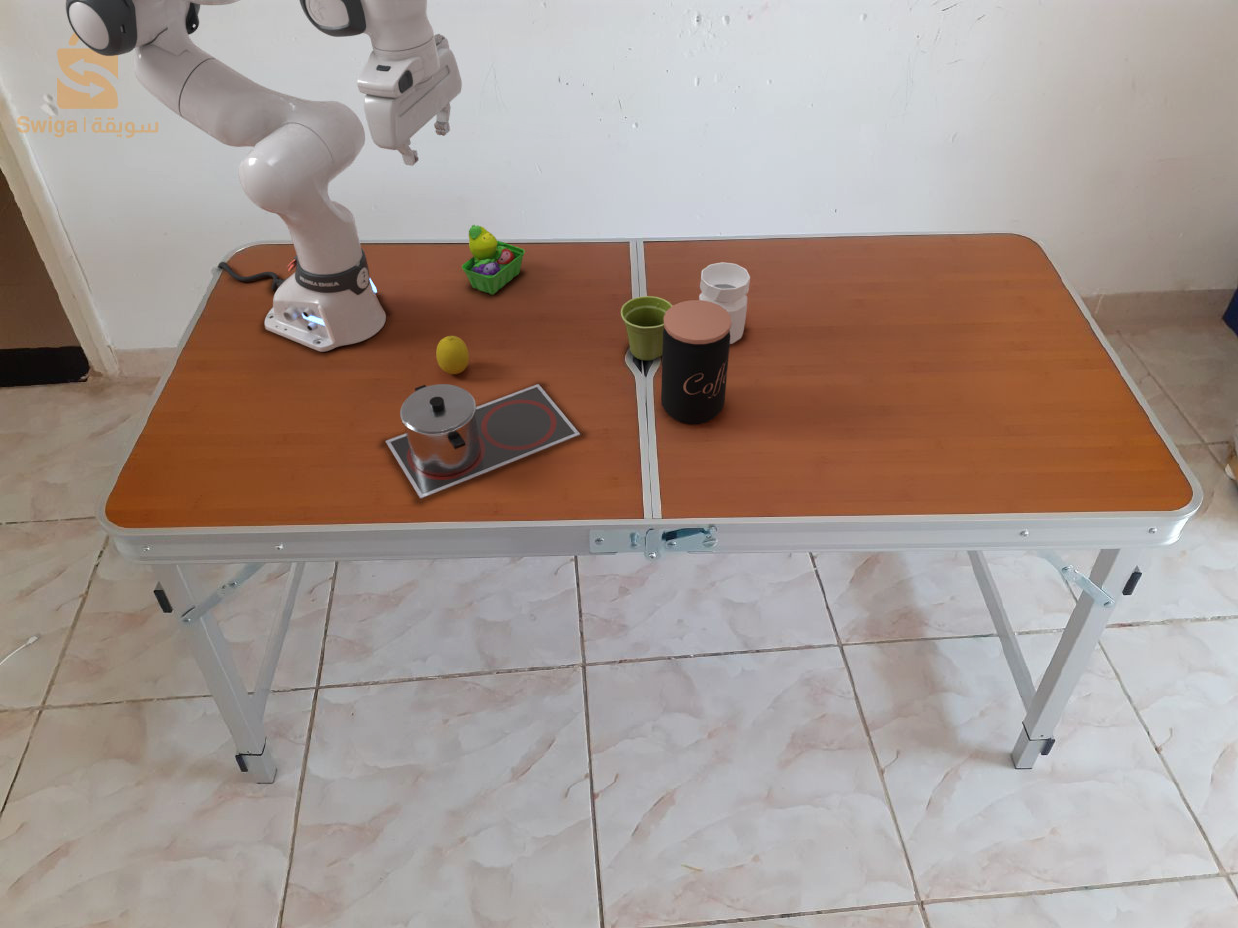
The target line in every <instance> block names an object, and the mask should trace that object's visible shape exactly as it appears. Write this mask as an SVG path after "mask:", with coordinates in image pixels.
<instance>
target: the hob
mask: <svg viewBox="0 0 1238 928" xmlns="http://www.w3.org/2000/svg"><path fill="white" fill-rule="evenodd" d="M475 416H476V422H477V429H478V435H479V442H480V454H479V457H478V459H477V460H476V461H475V463H474V464H473V465H472V466H470V467H469V468H467V469H466V470H464V471H462V472H459V473H456V474H453V475H447V476H436V475H431V474H427V473H425V472H423V471H421V470H420V469H418V468H417V467H416V466H415V464H414V463H413V460H412V457H411V452H410V448H409V443H408V439H407V434H406V433H404V434H400V435H398V436H395V437H392V438H389V439H387V440H385V443H386V445H387V447H388V448H389V450H390V452H391V453H392V455H393V456H394V458H395V459H396V461H397V463H398V464H399V466H400V468H401V470H402V472H403V473H404V474H405V476H406V478H407V479H408V481H409V482H410V484H411V486H412V487H413V490H415V492H416V495H417V496H418V497H419V499H420V500H422V499H425V498H426V497H429V496H432V495H434V494H437V493H439V492H441V491H444V490H446V489H449V488H451V487H454V486H456V485H459V484H462V483H464V482H467V481H469V480H471V479H474V478H477V477H479V476H481V475H483V474H487V473H489V472H491V471H494V470H496V469H499V468H502V467H504V466H507V465H509V464H511V463H514V462H516V461H518V460H521V459H523V458H526V457H529V456H531V455H533V454H536V453H539V452H541V451H544V450H546V449H549V448H551V447H553V446H556V445H558V444H559V445H560V444H561V443H564V442H566V441H569V440H571V439H573V438H576V437H579V436H581V432H579V431H578V429H576V427H575V425H573V423H572V422H571V421H570V419H568V418H567V417H566V415H565V414H564V413H563V412H562V410H561V409H560V408H559V407H558V405H557V404H556V403H555V402H554V401H553V399H552V398H551V397H550V396H549V394H547V392H546V391H545V390H544V389H543V387H542V386H541V385H540V384H539V383H537V384H534V385H532V386H531V385H530V386H529V387H526V388H523V389H521V390H519V391H516V392H513V393H510V394H508V395H505V396H502V397H499V398H497V399H493V400H491V401H489V402H486V403H483V404H481V405H478V406H476V413H475Z"/></svg>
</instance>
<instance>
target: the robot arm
mask: <svg viewBox="0 0 1238 928" xmlns="http://www.w3.org/2000/svg"><path fill="white" fill-rule="evenodd" d="M239 1H240V0H65V13H66V16H67V20H68V23H69V25H70V28H71V29H72V31H73V33H74V34H75V35H76V37H77V38H78V39H79V40H80V42H82V43H83V45H85V46H86V47H87V48H89V49H90V50H91V51H93V52H94V53H97V54H98V55H101V56H105V57H114V56H120V55H124V54H128V53H131V52H132V51H133V50H134V51H135V53H134V57H133V64H132V65H133V72H134V75H135V77H136V79H137V80H138V82H139V83H140V85H141V86H142V87H143V88H144V89H146V90H147V92H148V93H150V94H151V95H152V96H153V97H154V98H155V99H157V100H158V101H159V102H160V103H161V104H162V105H164V106H165V107H166V108H168V110H171V111H172V112H173V113H175V114H176V115H178V116H179V117H181V118H182V119H183V120H186V121H187V122H189V123H190V124H192V125H193V126H195V127H197V128H198V129H199V130H201V131H202V132H204V133H206V134H207V135H208V136H211V137H212V138H213V139H215V140H217V141H218V142H220V143H222V144H224V145H225V146H229V147H234V148H247V147H251V148H252V149H250V151H249V152H248V153H247V154H246V155H245V157H244V159H243V160H242V161H241V162H240V164H239V166H238V178H239V184H240V187H241V188H242V190H243V192H244V195H246V197H247V198H248V199H249V200H250V201H251V203H253V204H254V205H255V206H257V207H259V208H260V209H262V210H264V211H266V212H268V213H271V214H275V215H277V216H278V217H279V218H280V219H281V220H282V221H283V222H284V225H285V226H286V228H287V230H288V232H289V235H290V238H291V241H292V244H293V247H294V250H295V253H296V255H295V256H294V257H293V260H292V261H291V262H289V264H288V265H287V266H286V267H287V268H288V272H292V271H293V270H294V268H295V272H293V274H291V275H290V276H287V277H286V278H284V279H281V278H279V276H278V275H277V274H276V273H275V272H274V271H263V272H259V273H256V274H253V275H249V276H242V275H239V274H237V273H235V271H234V270H233V269H232V268H231V267H230V266H229V264H228V263H226V262H225V261H221V262H219V263H218V265H217V268H218V269H224V270H225V271H226V273H227V274H228V275H229V276H230V277H231V278H233V279H234V280H236V281H238V282H241V283H242V282H243V283H247V282H254V281H257V280H260V279H263V278H272V282H271V283H272V284H271V290H272V291H273V292H274V291H275V293H274V295H273V298H272V307H271V309H270V310H269V311H268V313H267V314H266V316H265V318H264V328H265V330H266V331H269V332H271V333H273V334H275V335H278V336H281V337H283V338H285V339H288V340H290V341H292V342H295V343H298V344H300V345H303V346H304V347H308V348H310V349H312V350H315V351H317V352H320V353H325V352H328V351H331V350H333V349H335V348H339V347H343V346H349V345H354V344H357V343H361V342H364V341H366V340H369V339H370V338H372V337H373V336H375V335H376V334H378V333H379V332H380V330H381V329H383V327H384V326H385V323H386V321H387V314H386V312H385V310H384V308H383V306H382V305H381V303H380V301H379V299H378V296H377V294H376V293H378V291H377V287H376V286H375V284H374V283H373V281H372V279H371V277H370V269H369V264H368V260H367V256H366V252H365V250H364V249H363V248H362V246H361V242H360V241H361V240H360V236H359V232H358V227H357V224H356V219H355V216H354V214H353V212H352V211H351V210H350V209H349V208H348V207H347V206H345V205H344V204H342V203H340V202H338V201H335V200H331V198H330V195H329V184H330V183H331V182H332V181H333V180H334V179H335V178H337V177H338V176H339V175H340V174H342V173H343V172H345V170H346V169H348V168H349V167H350V166H352V164H353V163H354V161H355V160H356V159H357V157H358V156H359V154H360V153H361V151H362V150H363V148H364V146H365V144H366V131H365V128H364V125H363V123H362V121H361V120H360V118H359V116H358V115H357V113H355V111H354V110H352V108H350V107H349V106H348V105H346V104H345V103H342V102H339V101H337V100H325V101H324V100H322V101H321V100H310V99H305V98H301V97H298V96H297V97H296V96H293V95H289V94H285V93H282V92H279V91H276V90H273V89H270V88H268V87H266V86H263V85H261V84H259V83H258V82H255V81H253V80H252V79H250V78H248V77H247V76H245V75H244V74H242V73H240V72H239V71H237V70H235V69H233V68H232V67H230V66H229V65H227V64H226V63H224V62H223V61H221V60H219V59H217V58H216V57H215V56H213V55H211V54H210V53H208V52H206V51H205V50H203V49H201V48H200V47H199V46H197V45H196V44H195V43H194V42H193V40H192V39H191V37H190V35H192V34H194V33H195V32H197V30H198V28H199V27H200V18H199V13H200V9H201V6H226V5H227V6H228V5H231V4H235V3H237V2H239ZM299 3H300V6H301V9H302V11H303V13H304V15H305V17H306V18H307V20H308V21H309V22H310V23H311V25H312V26H314V27H315V28H316V29H317V30H318V31H319V32H321V33H323V34H325V35H327V36H329V37H334V38H344V37H354V36H360V35H362V34H365V35H367V36H368V37H369V39H370V43H371V47H372V51H371V52H370V53H369V57H368V59H367V61H366V63H365V65H364V67H363V68H362V71H361V73H360V74H359V75H358V77H357V79H356V84H357V85H356V86H357V89H358V90H359V91H358V92H360V93H361V94H365V96H364V99H363V110H364V114H365V119H366V123H367V127H368V130H369V134H370V138H371V140H372V142H373V143H374V144H375V145H376V146H377V147H378V148H380V149H384V150H391V151H397V152H399V153H400V155H401V156H402V161H403V163H404V165H406V166H410V167H412V166H414V165H415V164H417V162H418V161H419V156H418V151H417V149H416V150H415V149H412V148H411V147H410V145H411V143H412V141H411V138H412V137H413V136H415V134H417V133H418V132H419V131H420V130H421V129H423V127H424V126H426V124H428V123H429V122H430V121H431V120H432V119H433V118H435V117H436V118H435V119H436V120H435V122H434V123H433V126H434V129H435V131H434V132H435V134H436V135H438V136H441V137H442V136H443V137H444V136H446V135H447V134H448V133H449V132H450V131H451V127H450V122H449V121H450V115H451V108H452V107H451V102H452V101H453V100H454V99H456V98H457V96H459V95H460V94H461V92H462V87H463V82H462V77H461V72H460V69H459V66H458V62H457V60H456V59H457V58H456V57H455V54H454V51H453V50H452V49H450V45H449V41H448V38H446V36H445V35H442V34H440V33H437V34H435V33H434V29H433V27H432V25H431V22H430V20H429V17H428V0H299Z"/></svg>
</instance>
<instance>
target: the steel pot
mask: <svg viewBox="0 0 1238 928" xmlns="http://www.w3.org/2000/svg"><path fill="white" fill-rule="evenodd" d="M476 407H477V404H476V400H475V398H474V396H473V395H472V394H471V393H470V392H469V391H468V390H466V389H464V388H463V387H460V386H458V385H454V384H447V383H440V384H439V383H437V384H432V385H426V384H422V385H419V386H418V387H417V386H416V387H414V391H413V392H412V393H411V394H410V395H408V397H406V399H405V400H404V401H403V403H402V405H401V407H400V411H399V415H400V416H399V417H400V421H401V423H402V425H403V426H404V429H405V434H407V439H408V443H409V448H410V452H411V457H412V460H413V463H414V464H415V466H416V467H417V468H418V469H420V470H421V471H423V472H425V473H427V474H431V475H436V476H447V475H453V474H456V473H459V472H462V471H464V470H466V469H467V468H469V467H470V466H472V465H473V464H474V463H475V461H476V460H477V459H478V457H479V454H480V442H479V435H478V429H477V422H476V416H475V413H476Z"/></svg>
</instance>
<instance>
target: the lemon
mask: <svg viewBox="0 0 1238 928" xmlns="http://www.w3.org/2000/svg"><path fill="white" fill-rule="evenodd" d="M435 353H436V354H435V356H436V357H435V358H436V361H437V364H438V366H439V367H440V369H441V370H442V371H443V372H444V373H446V374H448V375H458V374H461V373H462V372H464V371H465V370H466V368H467V367H468V365H469V362H470V361H469V360H470V355H469V349H468V347H467V345H466V343H465V341H464V340H462V338H461V337H458V336H456V335H448V336H445V337H443V338H442V339H440V341H439V342H438V344H437V346H436V352H435Z"/></svg>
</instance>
